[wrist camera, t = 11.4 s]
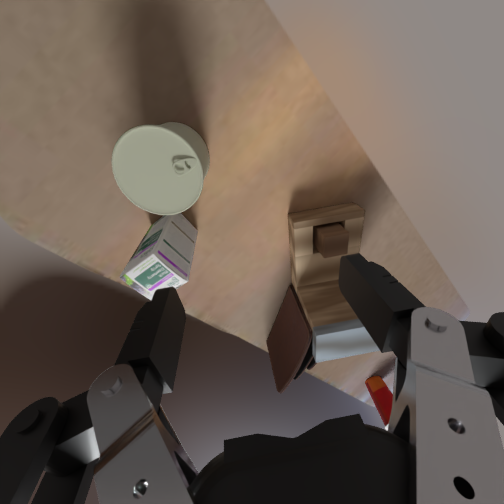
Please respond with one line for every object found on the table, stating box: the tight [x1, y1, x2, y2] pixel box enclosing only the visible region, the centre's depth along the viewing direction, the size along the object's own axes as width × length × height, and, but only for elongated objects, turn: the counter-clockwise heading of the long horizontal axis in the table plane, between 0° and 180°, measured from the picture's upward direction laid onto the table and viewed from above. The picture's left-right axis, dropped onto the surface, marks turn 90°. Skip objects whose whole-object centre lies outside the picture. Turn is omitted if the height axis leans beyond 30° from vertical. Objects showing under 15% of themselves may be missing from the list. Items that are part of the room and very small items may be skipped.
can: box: [112, 122, 210, 215], centre depth 28 cm, size 9×9×12 cm
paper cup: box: [365, 376, 393, 431], centre depth 69 cm, size 8×8×14 cm
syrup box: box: [120, 213, 198, 300], centre depth 32 cm, size 6×6×14 cm
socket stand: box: [288, 202, 380, 363], centre depth 37 cm, size 18×14×18 cm
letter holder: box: [267, 285, 316, 393], centre depth 48 cm, size 10×20×14 cm, turn 167°
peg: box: [313, 222, 349, 258], centre depth 39 cm, size 4×4×7 cm
